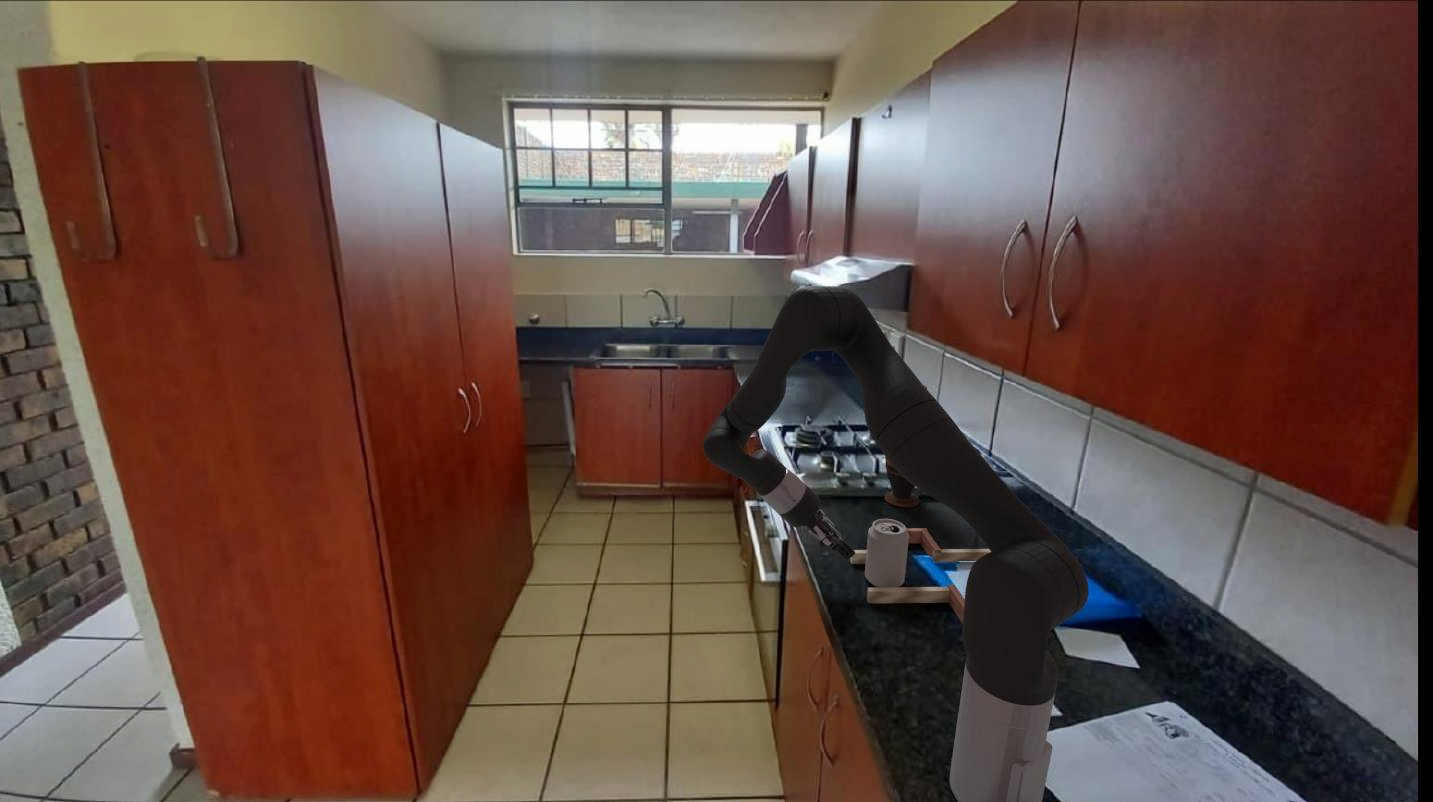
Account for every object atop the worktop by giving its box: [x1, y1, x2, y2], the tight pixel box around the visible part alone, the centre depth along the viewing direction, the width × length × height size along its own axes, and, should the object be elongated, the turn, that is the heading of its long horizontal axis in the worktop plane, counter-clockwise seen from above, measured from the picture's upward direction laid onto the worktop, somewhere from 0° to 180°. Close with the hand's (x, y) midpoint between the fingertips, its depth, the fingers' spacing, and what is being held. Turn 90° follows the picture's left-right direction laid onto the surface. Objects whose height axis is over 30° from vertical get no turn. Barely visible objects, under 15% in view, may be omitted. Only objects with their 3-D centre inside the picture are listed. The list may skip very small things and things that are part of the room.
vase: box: [884, 384, 928, 509], centre depth 144 cm, size 11×11×30 cm
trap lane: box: [849, 527, 991, 625], centre depth 114 cm, size 33×30×3 cm
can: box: [864, 518, 909, 588], centre depth 113 cm, size 8×8×12 cm
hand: (850, 554), depth 113 cm, fingers closed
